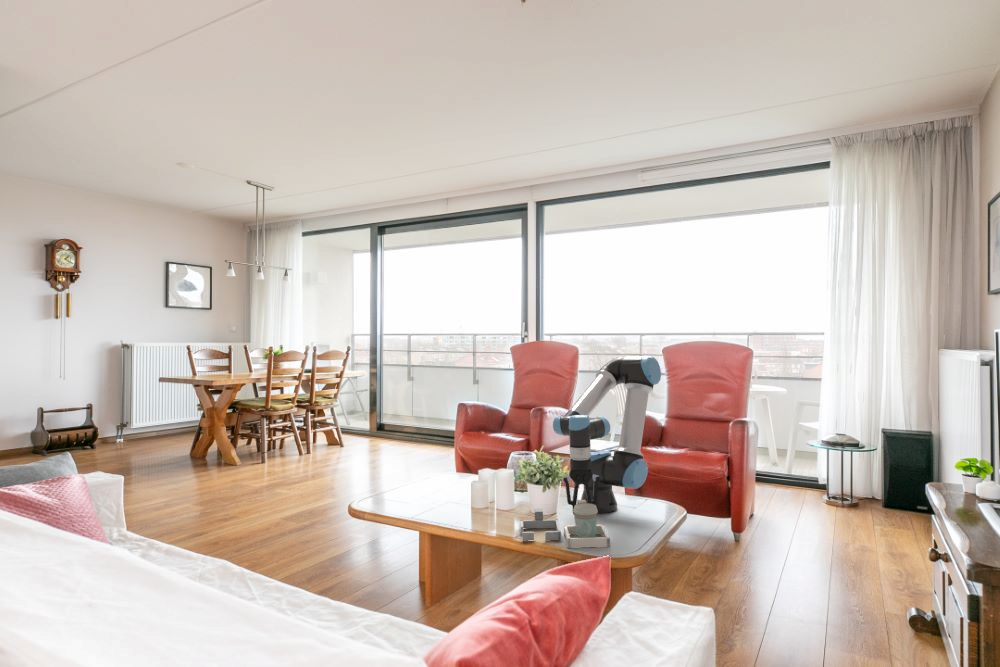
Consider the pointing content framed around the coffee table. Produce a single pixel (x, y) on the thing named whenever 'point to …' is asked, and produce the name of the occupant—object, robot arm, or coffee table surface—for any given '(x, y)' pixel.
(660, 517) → the coffee table surface
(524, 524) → the grey block base
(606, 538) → the grey tray bin
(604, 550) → the coffee table surface
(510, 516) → the coffee table surface
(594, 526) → the coffee cup
